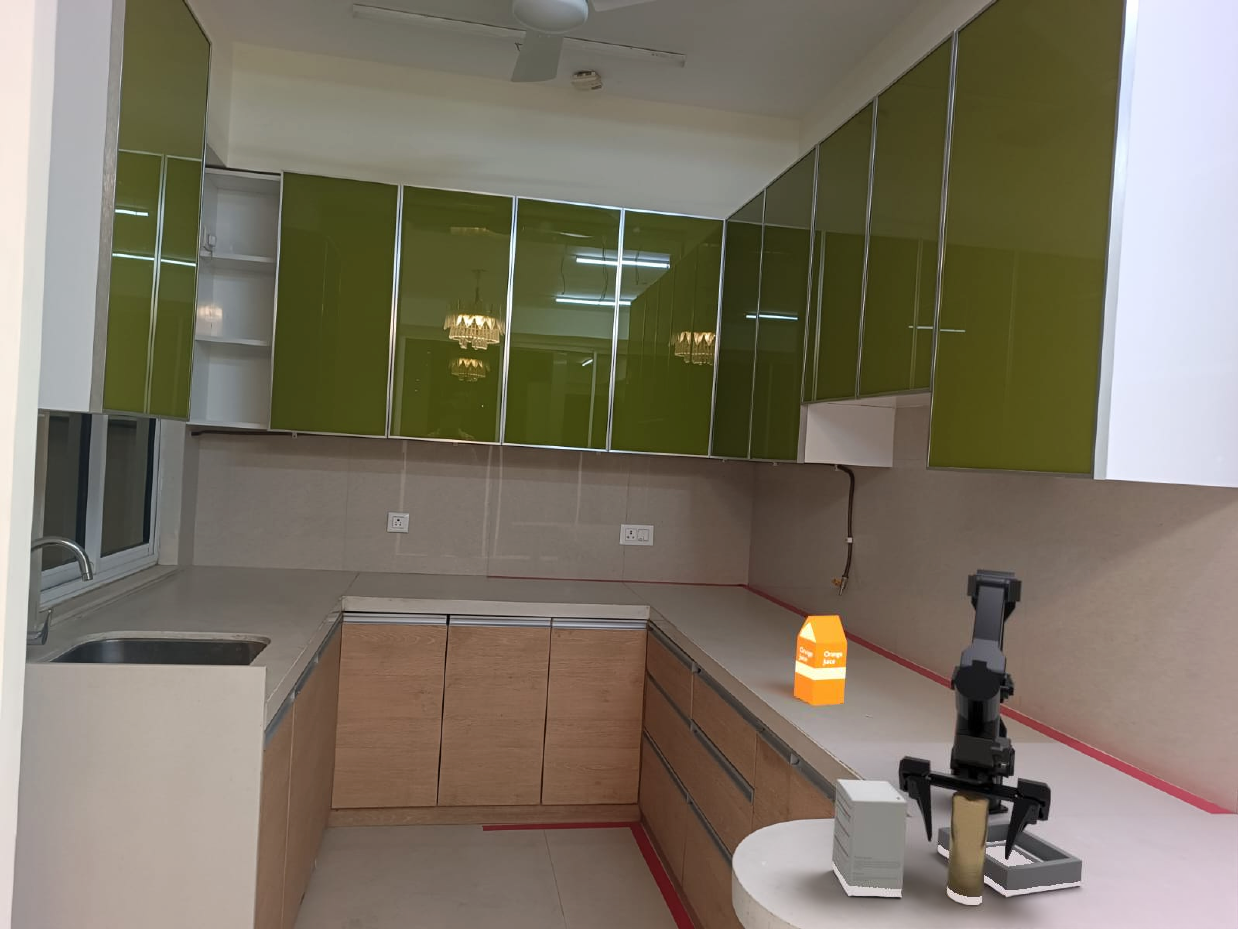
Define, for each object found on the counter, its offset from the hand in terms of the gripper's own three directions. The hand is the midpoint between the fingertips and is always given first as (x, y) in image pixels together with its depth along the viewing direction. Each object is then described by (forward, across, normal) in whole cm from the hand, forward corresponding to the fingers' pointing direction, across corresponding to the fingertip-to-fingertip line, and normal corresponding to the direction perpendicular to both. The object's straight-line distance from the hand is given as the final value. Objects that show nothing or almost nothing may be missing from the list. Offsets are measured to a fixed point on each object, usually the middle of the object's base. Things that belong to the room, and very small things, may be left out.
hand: (967, 849), depth 109 cm
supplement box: (+6, -12, +3) cm, 14 cm away
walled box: (-5, +5, +14) cm, 16 cm away
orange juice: (-55, -36, +64) cm, 92 cm away
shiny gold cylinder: (+4, 0, +6) cm, 7 cm away
